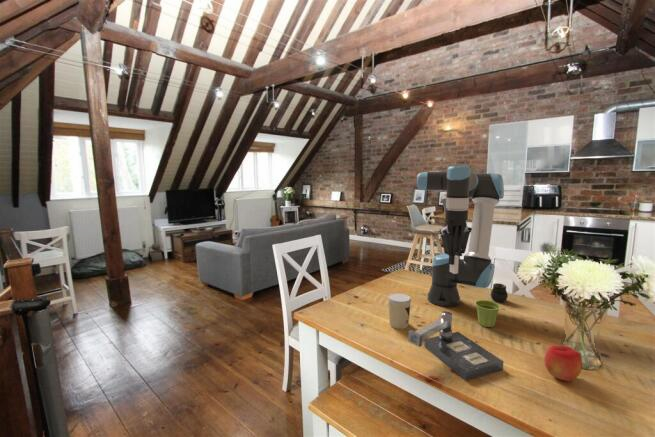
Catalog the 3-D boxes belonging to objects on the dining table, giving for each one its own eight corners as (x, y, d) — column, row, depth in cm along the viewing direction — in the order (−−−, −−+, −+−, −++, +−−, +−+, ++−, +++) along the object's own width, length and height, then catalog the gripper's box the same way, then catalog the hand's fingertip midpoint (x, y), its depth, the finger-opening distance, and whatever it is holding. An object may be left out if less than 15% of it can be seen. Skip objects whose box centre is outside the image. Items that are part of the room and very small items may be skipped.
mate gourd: (507, 299, 154) (508, 280, 152) (506, 305, 147) (508, 285, 146) (490, 296, 157) (492, 277, 156) (489, 302, 151) (491, 282, 149)
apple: (588, 384, 92) (592, 353, 91) (565, 391, 89) (568, 359, 88) (557, 365, 101) (559, 337, 100) (534, 370, 98) (537, 341, 97)
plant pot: (470, 324, 129) (471, 305, 127) (477, 316, 135) (479, 298, 134) (495, 332, 122) (496, 311, 121) (501, 323, 129) (503, 304, 128)
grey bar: (443, 325, 115) (443, 310, 114) (454, 329, 112) (455, 314, 111) (408, 344, 103) (408, 327, 102) (419, 350, 99) (419, 332, 98)
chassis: (457, 338, 118) (457, 324, 117) (502, 369, 99) (504, 352, 98) (424, 346, 113) (424, 331, 112) (465, 380, 94) (467, 362, 93)
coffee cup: (411, 330, 124) (411, 302, 123) (387, 328, 126) (387, 300, 124) (409, 320, 133) (410, 293, 132) (387, 318, 135) (388, 292, 133)
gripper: (463, 207, 116) (460, 267, 120) (434, 209, 112) (432, 271, 115) (479, 209, 109) (475, 273, 113) (449, 211, 105) (446, 277, 108)
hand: (453, 272), depth 114 cm, fingers closed
